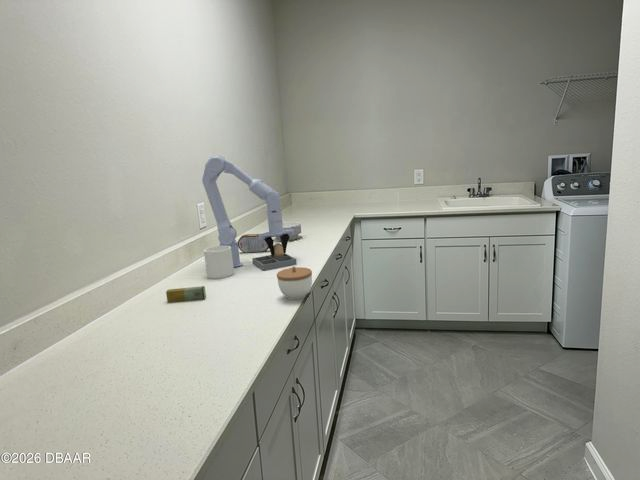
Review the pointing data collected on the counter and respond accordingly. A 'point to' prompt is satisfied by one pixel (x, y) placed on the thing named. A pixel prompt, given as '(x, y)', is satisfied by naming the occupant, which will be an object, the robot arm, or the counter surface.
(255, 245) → the tin
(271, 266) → the grey compartment tray
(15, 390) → the counter surface
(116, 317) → the counter surface
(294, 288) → the lidded jar
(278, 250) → the egg
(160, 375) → the counter surface
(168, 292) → the medication box
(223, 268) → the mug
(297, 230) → the paper bowls
